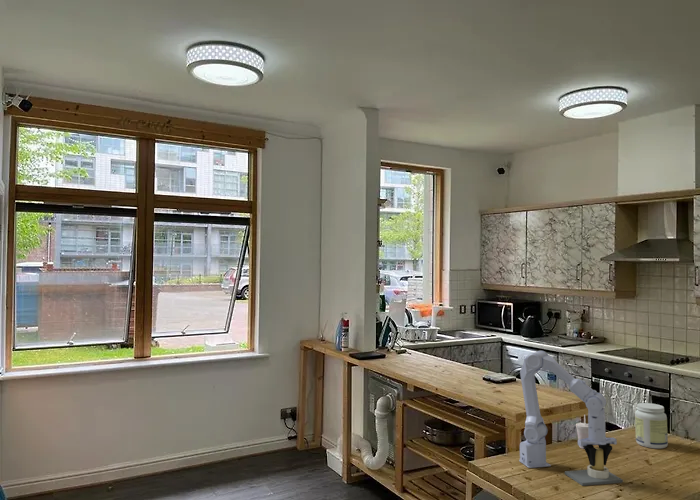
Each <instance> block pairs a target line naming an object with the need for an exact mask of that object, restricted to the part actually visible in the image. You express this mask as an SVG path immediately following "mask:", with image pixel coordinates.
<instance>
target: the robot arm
mask: <svg viewBox="0 0 700 500" xmlns="http://www.w3.org/2000/svg"><path fill="white" fill-rule="evenodd" d="M540 370H541V371H547V372H551V373H553V374H554V375H555V376H556V377H558V378H559V379H560V380H561V381H563V382H564V383H565V384H567V385H568V386H569V387H568V388H569V391H570V392H571V393H573V394H574V395H575V396H576V397H577V398H579V399H580V400H581V401H582V402H583V403H585V407H586V409H587V410H588V411H587V424H588V433H589V438H585V439H581V440H578V439H577V446H581V447H583V448H584V451H585V452H586V455H587V458H588V462H589V465H592V466H595V455H596V450H597V449H596V448H597V447H595V446H598V448H601V449H603V457H604V466H606V465H607V462H608V458H609V455H610V453H611V452H612V450H613V446H612V445H617V443H618V442H617V441H618V440H617V438H614V437H607V436H606V435H607V434H606V414H605V410H606V409H605V407H606V405H607V399H606V397H605V396H604V395H603V394H602V393H601V392H597V390H596V389H593V388H591V387H590V386H589V385H588V384H587V381H586V380H584V379H583V380H582V379H581V378H575V377H574V376H573V375H572V374H571V373H569V371H567V370H566V368H564V367H563V366H562V365H561V364H560V363H559V362H558V361H556V359H555V358H554V357H553V356H552V355H549V354H548V353H547V352H546V351H544V350H537V351H535V352H532V353H529V354H528V355H527V356H526V357H524V359H523V363H522V364H521V368H520V371H519V375H520V380H521V382H520V383H521V388H522V394H523V401H524V406H525V407H524V408H525V415H526V418H525V422H524V426H525V427H524V431H523V436H524V437H525V439H526V440H523V441H521V442H520V443H519V460H518V461H519V462H520V463H521V464H522V465H524V466H526V468H528V469H530V468H531V469H533V468H545V467H547V468H548V467H551V466H552V465H551V464H550V463H549V462H547V441H546V436H547V435H548V427H547V426H546V424H545V422H544V418H543V416H542V415H541V409H540V404H539V403H540V402H539V397H538V391H537V384H536V377H535V375H536V374H537V373H538V372H539V371H540Z"/></svg>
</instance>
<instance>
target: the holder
mask: <svg viewBox="0 0 700 500" xmlns="http://www.w3.org/2000/svg"><path fill="white" fill-rule="evenodd" d="M586 467H587V469H579V470H566V471H564V475H566V476H567V477H568V478H570V479H571V480H573V481H574V482H576V483H577V484H579V485H580V486H582V487H586V486H595V485H608V484H609V485H610V484H622V482H623V483H624V479H622V478H621V477H619V476H617V475H616V474H614V473H612V472H610V470H609V468H608V467H607V466H606V465H604V471H596V470H593V469H592V465H590V464H588V465H587V466H586Z"/></svg>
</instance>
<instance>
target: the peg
mask: <svg viewBox="0 0 700 500" xmlns="http://www.w3.org/2000/svg"><path fill="white" fill-rule="evenodd" d="M595 448H596V449H597V450H596V455H595V466H592V469H593V470H596V471H604V466H605V465H604V457H603V449H601V448H599V447H595Z"/></svg>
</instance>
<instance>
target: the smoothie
mask: <svg viewBox="0 0 700 500" xmlns="http://www.w3.org/2000/svg"><path fill="white" fill-rule="evenodd" d="M586 421H587V420H586V414H584V415H583V422H577V423H575V427H576V433H577V441H578V440H581V439H585V438H589V433H588V422H587V423H586ZM578 446H579V445H578ZM579 448H580V449H584V448H583V447H581V446H579ZM584 450H585V449H584Z"/></svg>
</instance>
